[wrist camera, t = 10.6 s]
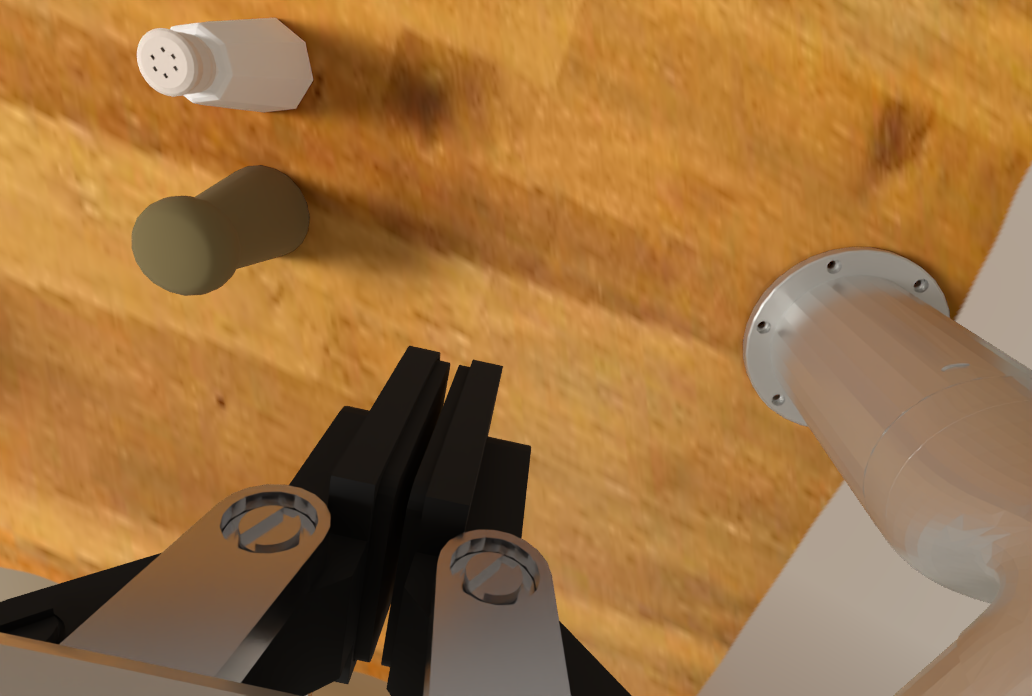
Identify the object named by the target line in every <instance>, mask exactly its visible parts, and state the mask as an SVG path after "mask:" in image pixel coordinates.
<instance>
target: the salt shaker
mask: <svg viewBox="0 0 1032 696" xmlns="http://www.w3.org/2000/svg"><path fill="white" fill-rule="evenodd" d="M137 62H138V66H139V69H140V72H141V73H142V75H143V77H144V79H145V80H146V81H147V82H148V84H149V85H150V86H151V87H152V88H154V89H155V90H156V91H158V92H160V93H162V94H164V95H167V96H173V97H174V96H182V95H183V96H185V97H186V98H187V99H189V100H190V101H191V102H192V103H196V104H200V105H208V106H216V107H224V108H232V109H241V110H249V111H257V112H272V111H280V110H289V109H296V108H297V106H298V105H299V103H300V101H301V100H302V98H303V96H304V95H305V93H306V91H307V90H308V88H309V86H310V85H311V83H312V82H313V76H312V71H311V67H310V62H309V57H308V52H307V48H306V43H305V42H304V41H303V40H302V39H301V38H300V37H298V36H297V35H296V34H295V33H293V32H292V31H291V30H290V29H289V28H287V27H286V26H285V25H284V24H283V23H281V22H280V21H279V20H278V19H276V18H262V19H245V20H228V21H210V22H202V23H192V24H185V25H178V26H173V27H171V28H170V29H164V28H158V29H153V30H151V31H149V32H147V33H146V34H145V35H144V36H143V37H142V38H141V40H140V42H139V44H138V49H137Z"/></svg>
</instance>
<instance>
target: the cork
mask: <svg viewBox="0 0 1032 696" xmlns="http://www.w3.org/2000/svg"><path fill="white" fill-rule="evenodd" d="M309 218H310V217H309V211H308V206H307V202H306V200H305V198H304V196H303V194H302V192H301V190H300V189H299V188H298V186H297V185H296V184H295V183H294V182H293V181H292V180H291V179H290V178H289V177H288V176H286V175H285V174H283V173H281V172H280V171H278V170H276V169H273V168H270V167H266V166H262V165H259V166H247V167H245V168H242V169H240V170H238V171H236V172H234V173H233V174H231V175H229V176H228V177H226V178H225V179H223V180H221V181H220V182H218V183H217V184H215V185H213V186H212V187H210V188H209V189H207V190H205V191H204V192H202V193H201V194H199V195H197V196H196V197H190V196H174V197H167V198H163V199H161V200H159V201H157V202H155V203H153V204H150V205H149V206H148V207H147V208H146V209H145V210H144V211H143V212H142V213H141V214H140V216H139V217H138V218H137V220H136V222H135V225H134V228H133V231H132V250H133V254H134V257H135V260H136V262H137V264H138V265H139V267H140V268H141V270H142V272H143V273H144V274H145V275H146V276H147V277H148V278H149V279H150V280H151V281H152V282H153V283H155V284H156V285H158V286H160V287H162V288H163V289H165V290H167V291H169V292H173V293H176V294H180V295H184V296H187V295H202V294H206V293H209V292H211V291H213V290H216V289H218V288H219V287H221V286H223V285H224V284H225V283H226V282H227V281H228V280H229V279H230V278H231V277H232V276H233V274H234V272H235V270H236V269H238V268H242V267H245V266H249V265H252V264H256V263H259V262H262V261H266V260H269V259H273V258H276V257H280V256H283V255H285V254H287V253H290V252H292V251H294V250H295V249H296V248H297V247H298V246H299V245H300V244H301V243H302V242H303V240H304V238H305V236H306V234H307V232H308V226H309Z"/></svg>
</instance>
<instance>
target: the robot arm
mask: <svg viewBox="0 0 1032 696" xmlns="http://www.w3.org/2000/svg"><path fill="white" fill-rule="evenodd" d="M831 261H833V264H832V265H831V266H829V267H827V265H828V264H829V262H831ZM916 281H918V282H917V283H916ZM915 283H916V284H915ZM914 284H915V285H914ZM762 321H764V323H763V324H762V325H761V326H757V325H758V324H759V323H760V322H762ZM743 359H744V364H745V368H746V373H747V375H748V377H749V379H750V381H751V383H752V385H753V387H754V389H755V390H756V392H757V393H758V395H759V396H760V398H761V399H762V400H763V401H764V402H765V404H766V405H767V406H768V407H769V408H770V409H772V410H773V411H775V412H776V413H778V414H779V415H780V416H782V417H783V418H785V419H787V420H790V421H792V422H794V423H797V424H799V425H803V426H807V427H809V428H810V429H811V431H812V432H813V434H814V435H815V437H816V438H817V440H818V441H819V443H820V444H821V446H822V447H823V448H824V450H825V451H826V453H827V454H828V456H829V457H830V459H831V460H832V462H833V463H834V465H835V466H836V468H837V469H838V471H839V472H840V474H841V475H842V477H843V478H844V479H845V481H846V482H847V483H848V485H849V487H850V488H851V490H852V491H853V493H854V494H855V496H856V497H857V498H858V500H859V502H860V503H861V504H862V506H863V507H864V509H865V510H866V512H867V513H868V515H869V516H870V518H871V519H872V520H873V522H874V524H875V525H876V526H877V528H878V529H879V530H880V532H881V533H882V535H883V536H884V538H885V539H886V540H887V542H888V543H889V544H890V546H891V547H892V548H893V549H894V550H895V551H896V552H897V554H898V555H899V556H900V557H901V558H902V559H903V560H904V561H906V562H907V563H908V564H909V565H910V566H911V567H912V568H914V569H915V570H916V571H918V572H919V573H921V574H922V575H924V576H926V577H927V578H929V579H930V580H932V581H934V582H935V583H937V584H939V585H941V586H943V587H945V588H948V589H950V590H952V591H955V592H957V593H960V594H962V595H966V596H968V597H971V598H973V599H977V600H980V601H983V602H987V603H991V604H990V606H989V607H988V608H987V609H986V610H985V611H984V612H983V613H982V614H981V615H980V616H979V617H978V618H977V619H976V620H975V621H974V622H972V623H971V624H970V625H969V626H968V627H967V628H966V629H965V630H964V631H963V632H962V633H961V634H960V635H959V637H958V639H957V640H956V641H955V642H954V643H952V644H951V645H950V646H949V647H948V648H947V649H946V650H944V651H943V652H942V653H941V654H940V655H939V656H938V657H937V658H935V659H934V660H933V661H932V662H931V663H930V664H929V665H927V666H926V667H925V668H924V669H923V670H922V671H921V672H920V673H918V674H917V675H916V676H915V677H914V678H913V679H912V680H911V681H909V682H908V683H907V684H906V685H905V686H904V687H903V688H901V689H900V690H899V691H898V692H897V693H896V694H895V695H894V696H1032V370H1030V369H1028V368H1027V367H1026V366H1024V365H1023V364H1021V363H1019V362H1018V361H1016V360H1015V359H1013V358H1011V357H1010V356H1008V355H1007V354H1005V353H1004V352H1002V351H1000V350H999V349H997V348H996V347H994V346H993V345H991V344H990V343H988V342H986V341H985V340H983V339H982V338H980V337H979V336H977V335H976V334H974V333H972V332H971V331H969V330H968V329H966V328H965V327H963V326H961V325H960V324H958V323H957V322H955V321H954V320H952V319H950V312H949V308H948V305H947V302H946V299H945V296H944V294H943V292H942V290H941V289H940V287H939V286H938V284H937V283H936V281H935V280H934V279H933V278H932V277H931V276H930V275H929V274H928V273H927V272H926V271H925V270H924V269H923V268H922V267H920V266H918V265H917V264H915V263H914V262H912V261H910V260H909V259H907V258H904V257H902V256H900V255H898V254H895V253H893V252H891V251H886V250H882V249H877V248H873V247H848V248H841V249H835V250H830V251H827V252H824V253H821V254H818V255H815V256H812V257H810V258H808V259H806V260H804V261H802V262H801V263H799V264H797V265H795V266H793V267H792V268H791V269H789V270H788V271H786V272H785V273H784V274H782V275H781V276H780V277H778V278H777V279H776V280H775V281H774V282H773V284H772V285H771V286H770V287H769V288H768V289H767V290H766V291H765V292H764V293H763V295H762V296H761V298H760V299H759V301H758V302H757V304H756V305H755V307H754V308H753V311H752V313H751V315H750V318H749V320H748V322H747V325H746V330H745V334H744V339H743ZM502 368H503V366H500V365H495V364H491V363H486V362H482V361H477V360H473V361H472V364H471V366H470V367H467V366H462V365H459V367H458V369H457V372H456V374H455V377H454V380H453V382H452V385H451V387H450V390H449V392H448V395H447V398H446V400H445V403H444V398H445V393H446V387H447V381H448V376H449V370H450V363H448V362H444V361H440V352H436V351H431V350H427V349H422V348H418V347H413V346H409V347H408V348H407V350H406V352H405V353H404V355H403V356H402V358H401V360H400V361H399V363H398V365H397V366H396V368H395V370H394V371H393V373H392V375H391V376H390V378H389V380H388V381H387V383H386V385H385V386H384V388H383V390H382V391H381V393H380V395H379V396H378V398H377V400H376V401H375V403H374V405H373V406H372V408H371V410H370V411H368V410H364V409H359V408H355V407H350V406H344V407H343V408H342V409H341V411H340V412H339V413H338V415H337V416H336V418H335V419H334V421H333V422H332V424H331V425H330V426H329V428H328V429H327V431H326V432H325V434H324V435H323V437H322V438H321V440H320V441H319V442H318V444H317V445H316V447H315V448H314V450H313V451H312V453H311V454H310V455H309V457H308V458H307V460H306V461H305V463H304V464H303V466H302V467H301V468H300V470H299V471H298V473H297V474H296V476H295V477H294V479H293V480H292V481H291V483H290V484H289V485H273V484H266V485H260V486H255V487H249V488H246V489H243V490H241V491H238V492H235V493H233V494H231V495H229V496H228V497H226V498H225V499H224V500H222V501H221V502H219V503H218V504H217V505H215V506H214V507H213V508H212V509H211V510H210V511H209V512H208V513H206V514H205V515H204V516H203V517H202V518H201V519H200V520H199V521H197V522H196V523H195V524H194V525H193V526H192V527H191V528H190V529H188V530H187V531H186V532H185V533H184V534H183V535H182V536H181V537H179V538H178V539H177V540H176V541H175V542H174V543H173V544H172V545H170V546H169V547H168V548H167V549H166V550H165V551H164V552H163V553H160V554H156V555H153V556H150V557H146V558H143V559H140V560H136V561H133V562H130V563H127V564H123V565H120V566H117V567H113V568H110V569H107V570H103V571H100V572H97V573H93V574H90V575H87V576H83V577H80V578H77V579H74V580H70V581H67V582H64V583H60V584H57V585H54V586H51V587H47V588H44V589H40V590H37V591H34V592H30V593H27V594H24V595H21V596H17V597H14V598H11V599H7V600H5V601H2V602H0V696H312V694H313V692H314V691H315V690H318V689H320V688H322V687H324V686H325V685H328V684H330V683H332V682H334V681H335V682H339V683H344V684H348V683H349V680H350V678H351V675H352V672H353V670H354V667H355V664H356V661H357V660H360V661H365V662H370V661H371V659H372V656H373V654H374V651H375V648H376V645H377V642H378V639H379V636H380V633H381V630H382V627H383V624H384V622H385V619H386V616H387V613H388V610H389V607H390V604H391V607H390V613H389V619H388V625H387V631H386V637H385V643H384V649H383V655H382V662H381V665H384V666H388V667H390V672H389V677H388V683H387V690H388V692H389V693H390V695H391V696H631V695H630V694H629V693H628V692H627V691H626V689H625V688H624V687H623V686H622V685H621V684H620V683H619V682H618V681H617V680H616V679H615V678H614V677H613V676H612V675H611V674H610V673H609V672H608V671H607V670H606V669H605V668H604V667H603V666H602V665H601V664H600V663H599V661H598V660H597V659H596V658H595V657H594V656H593V655H592V654H591V653H590V652H589V651H588V650H587V649H586V648H585V647H584V646H583V645H582V644H581V643H580V642H579V641H578V640H577V639H576V638H575V637H574V636H573V635H572V633H571V632H570V631H569V630H568V629H567V628H566V627H565V626H564V625H563V624H562V623H561V622H560V621H559V618H558V612H557V605H556V599H555V593H554V586H553V580H552V575H551V572H550V569H549V566H548V563H547V561H546V560H545V559H544V558H543V556H542V555H541V554H540V552H539V551H538V550H537V549H536V548H534V547H533V546H532V545H530V544H529V543H528V542H526V541H525V540H523V539H521V537H522V528H523V518H524V509H525V500H526V491H527V481H528V472H529V463H530V454H531V446H529V445H524V444H520V443H515V442H511V441H506V440H501V439H497V438H492V437H488V433H489V429H490V424H491V419H492V415H493V410H494V406H495V401H496V396H497V392H498V387H499V382H500V378H501V373H502ZM777 394H778V395H777ZM775 395H777V396H775ZM774 396H775V397H774ZM443 404H444V405H443Z"/></svg>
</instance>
